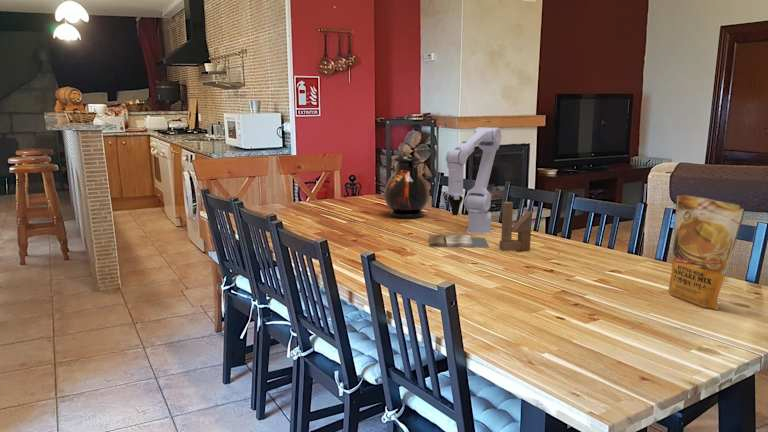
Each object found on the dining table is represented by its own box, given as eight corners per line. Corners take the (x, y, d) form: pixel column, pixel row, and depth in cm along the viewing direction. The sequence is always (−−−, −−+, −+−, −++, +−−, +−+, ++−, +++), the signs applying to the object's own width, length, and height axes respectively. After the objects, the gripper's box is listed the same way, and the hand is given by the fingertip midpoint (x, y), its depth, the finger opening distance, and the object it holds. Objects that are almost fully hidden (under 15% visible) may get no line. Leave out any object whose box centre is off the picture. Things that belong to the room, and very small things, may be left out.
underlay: (484, 239, 229) (484, 237, 228) (489, 249, 213) (489, 247, 213) (429, 238, 230) (429, 237, 230) (429, 248, 214) (429, 246, 214)
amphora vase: (377, 213, 283) (376, 156, 277) (415, 210, 292) (416, 155, 286) (396, 221, 263) (396, 160, 258) (437, 217, 272) (438, 158, 267)
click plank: (469, 238, 228) (469, 235, 228) (472, 246, 214) (473, 243, 214) (445, 237, 228) (445, 234, 228) (446, 246, 215) (446, 243, 214)
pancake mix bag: (676, 288, 167) (685, 193, 162) (734, 310, 149) (747, 203, 144) (657, 291, 165) (666, 194, 159) (715, 313, 147) (727, 205, 142)
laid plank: (444, 237, 228) (444, 235, 228) (446, 246, 215) (446, 243, 214) (429, 237, 229) (429, 234, 229) (429, 246, 215) (429, 243, 215)
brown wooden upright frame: (530, 250, 211) (532, 202, 207) (503, 252, 208) (505, 203, 205) (525, 248, 214) (527, 200, 211) (498, 250, 212) (500, 201, 208)
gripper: (444, 178, 231) (444, 211, 234) (446, 183, 217) (445, 218, 220) (462, 178, 231) (461, 211, 233) (465, 183, 217) (464, 218, 219)
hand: (455, 215), depth 226 cm, fingers closed
